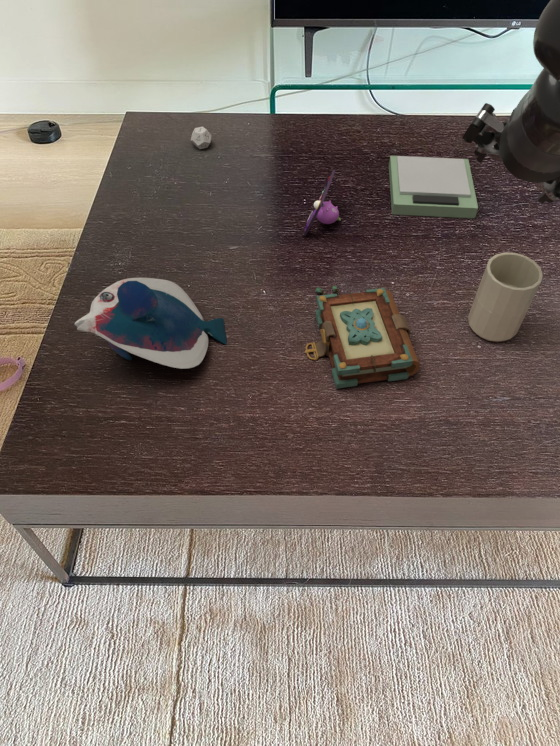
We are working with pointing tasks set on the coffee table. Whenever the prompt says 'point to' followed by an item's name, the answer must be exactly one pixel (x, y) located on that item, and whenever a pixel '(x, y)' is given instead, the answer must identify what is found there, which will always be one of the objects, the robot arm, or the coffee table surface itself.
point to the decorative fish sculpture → (152, 322)
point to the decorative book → (363, 337)
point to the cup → (504, 296)
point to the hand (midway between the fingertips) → (513, 174)
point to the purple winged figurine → (323, 208)
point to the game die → (201, 137)
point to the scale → (432, 187)
